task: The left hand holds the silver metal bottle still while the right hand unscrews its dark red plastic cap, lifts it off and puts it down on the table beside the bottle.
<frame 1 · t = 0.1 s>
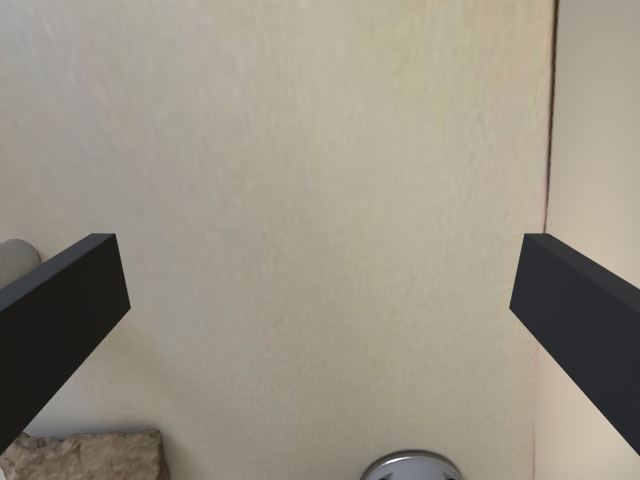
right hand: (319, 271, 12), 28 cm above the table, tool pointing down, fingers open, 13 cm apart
stone: (98, 457, 54), on the table
bottle: (20, 257, 43), on the table
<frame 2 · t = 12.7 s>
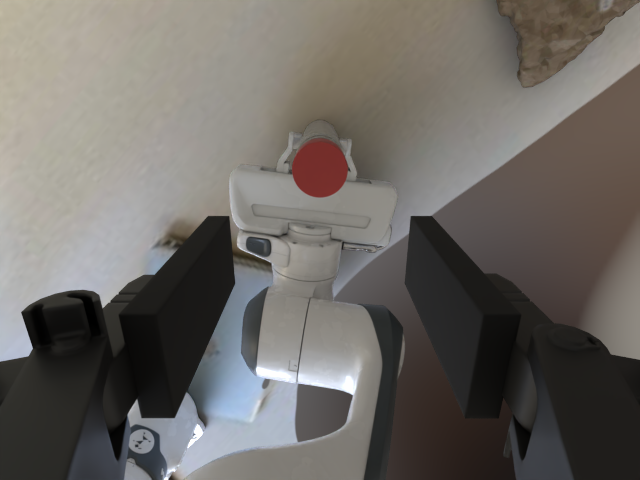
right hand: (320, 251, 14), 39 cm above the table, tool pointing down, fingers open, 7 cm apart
left hand: (320, 135, 44), fingers closed on bottle, 4 cm apart
bottle: (320, 137, 50), on the table, touching left hand
cap: (319, 169, 29), point 23 cm above the table, screwed on, not yet turned
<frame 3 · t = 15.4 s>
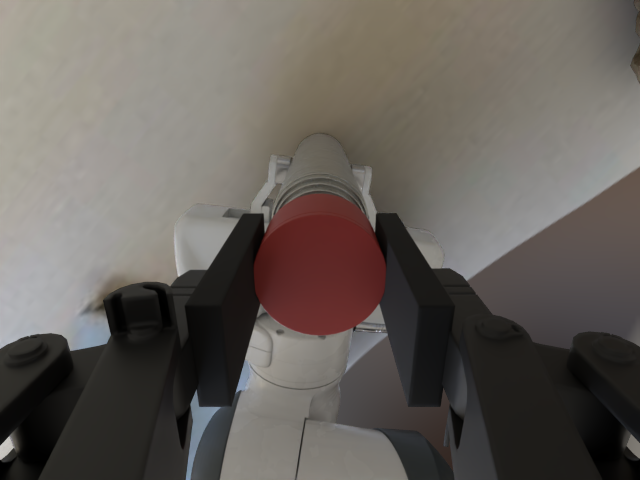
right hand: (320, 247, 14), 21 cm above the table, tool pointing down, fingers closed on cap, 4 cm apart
bottle: (320, 159, 34), on the table, touching left hand
cap: (319, 274, 12), point 23 cm above the table, screwed on, not yet turned, touching right hand
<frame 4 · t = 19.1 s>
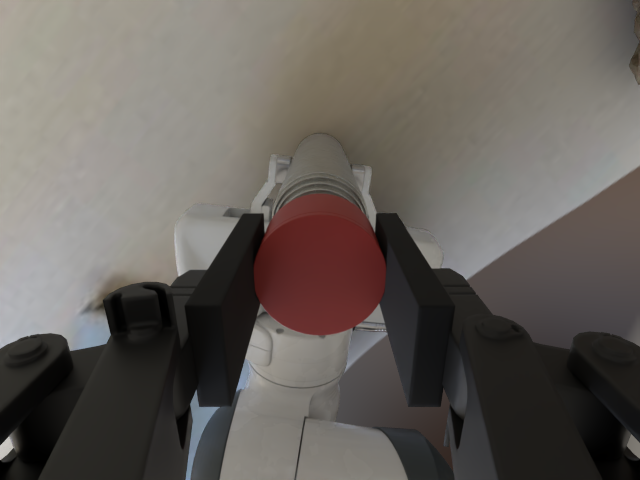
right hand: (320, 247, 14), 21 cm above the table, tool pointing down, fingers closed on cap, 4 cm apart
bottle: (319, 159, 34), on the table, touching left hand
cap: (319, 274, 12), point 23 cm above the table, turned 137° so far, risen 0.1 cm, still on its thread, touching right hand
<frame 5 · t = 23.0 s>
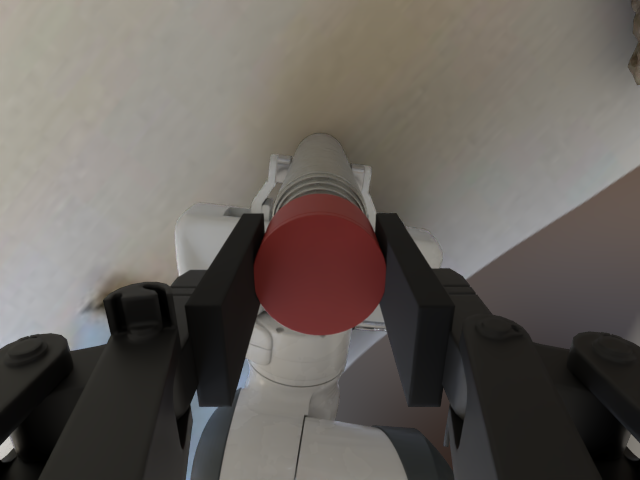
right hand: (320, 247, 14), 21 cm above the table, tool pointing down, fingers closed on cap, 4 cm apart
bottle: (319, 158, 34), on the table, touching left hand
cap: (319, 274, 12), point 23 cm above the table, turned 273° so far, risen 0.2 cm, still on its thread, touching right hand
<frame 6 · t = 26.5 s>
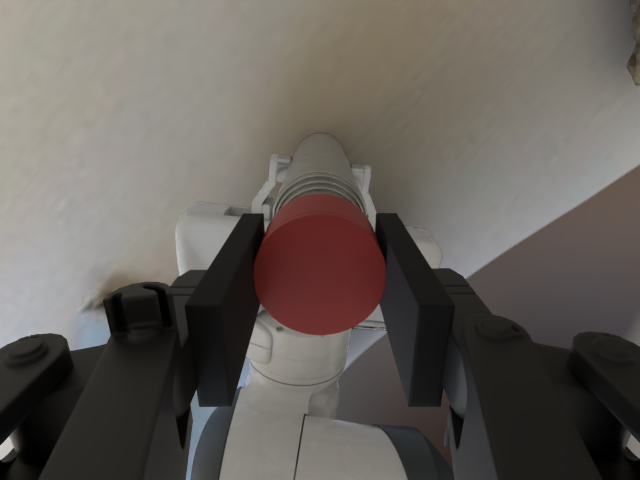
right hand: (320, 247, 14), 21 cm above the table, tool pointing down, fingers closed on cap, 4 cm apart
bottle: (319, 158, 34), on the table, touching left hand
cap: (319, 274, 12), point 23 cm above the table, turned 410° so far, risen 0.4 cm, still on its thread, touching right hand
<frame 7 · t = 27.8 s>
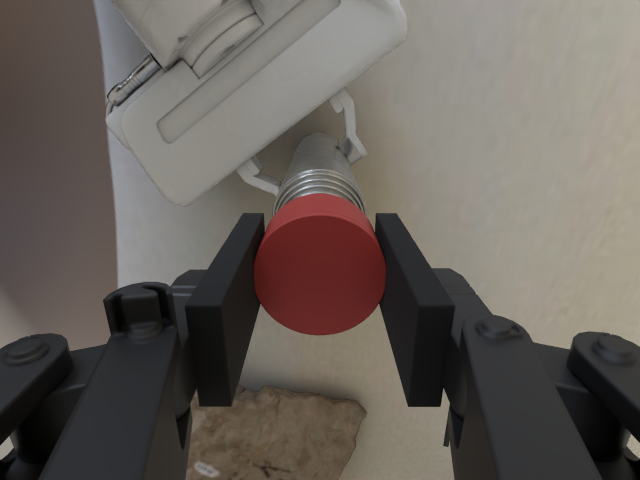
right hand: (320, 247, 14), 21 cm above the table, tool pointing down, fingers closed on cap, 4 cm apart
left hand: (327, 180, 28), fingers closed on bottle, 4 cm apart
stone: (268, 417, 45), on the table
bottle: (319, 157, 34), on the table, touching left hand
cap: (319, 274, 12), point 24 cm above the table, off its thread, touching right hand
when the right hand's fingers open (2 cm above the table, at t = 35.7 s): cap drops 2 cm, point 2 cm above the table.
when the left hand's fingers open (6 cm above the table, at t = 37.0 s): bottle stays where it is, on the table.
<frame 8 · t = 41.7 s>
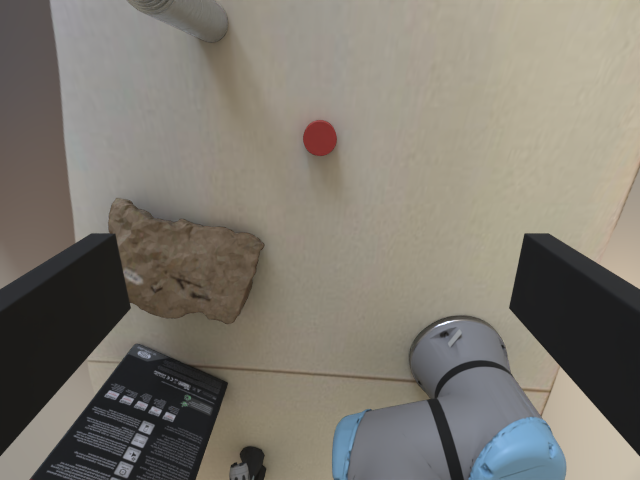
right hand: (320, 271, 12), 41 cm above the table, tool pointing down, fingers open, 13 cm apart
stone: (190, 255, 57), on the table
graphics card box: (176, 372, 64), on the table
bottle: (209, 21, 46), on the table
robot: (254, 461, 72), on the table
cap: (319, 138, 48), point 2 cm above the table, off its thread
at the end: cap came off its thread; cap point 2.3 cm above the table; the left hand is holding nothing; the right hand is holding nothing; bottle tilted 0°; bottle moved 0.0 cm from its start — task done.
